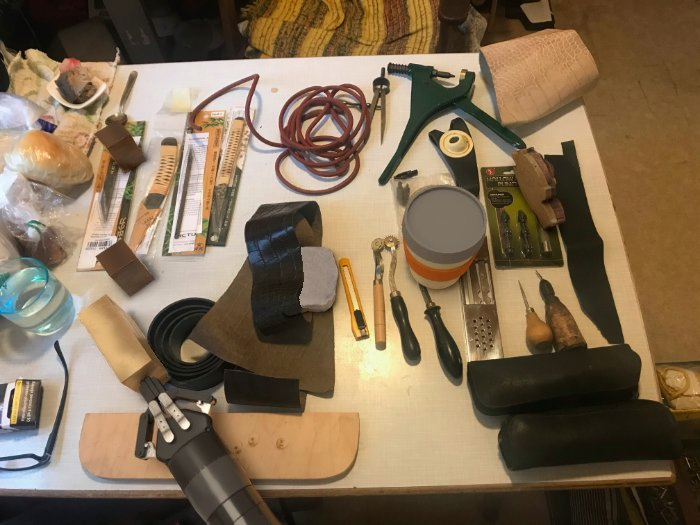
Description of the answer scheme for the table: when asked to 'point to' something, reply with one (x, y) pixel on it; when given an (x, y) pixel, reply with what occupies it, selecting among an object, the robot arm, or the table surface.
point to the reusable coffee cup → (442, 234)
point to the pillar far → (120, 146)
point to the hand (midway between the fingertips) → (145, 380)
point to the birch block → (121, 343)
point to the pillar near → (125, 267)
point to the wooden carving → (538, 186)
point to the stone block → (318, 279)
